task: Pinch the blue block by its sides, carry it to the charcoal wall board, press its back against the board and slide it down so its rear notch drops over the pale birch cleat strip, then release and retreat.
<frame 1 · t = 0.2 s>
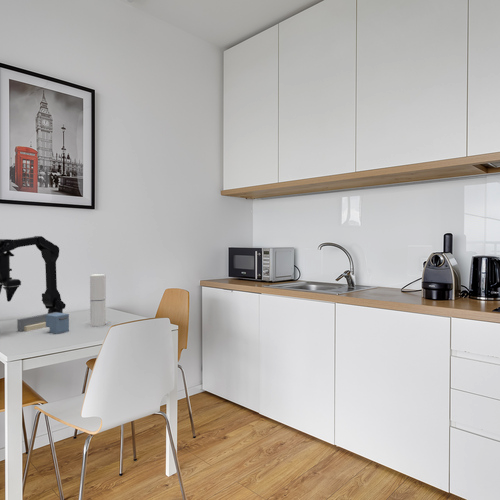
hand: (2, 300, 179), 14 cm above the table, fingers open, 9 cm apart
cylindrical container: (97, 325, 196), on the table
wall board: (38, 327, 189), on the table
blue block: (58, 331, 181), on the table
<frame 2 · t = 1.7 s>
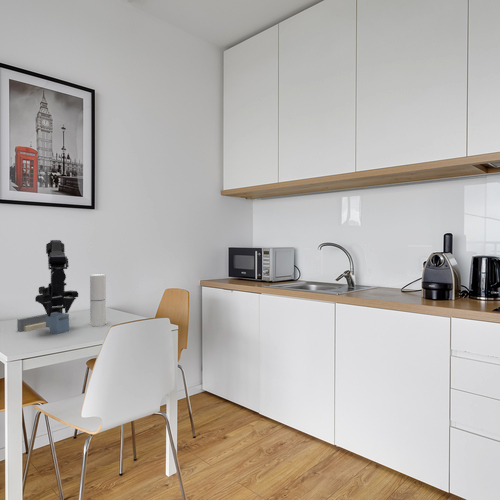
hand: (57, 314, 181), 8 cm above the table, fingers open, 9 cm apart
nothing on the table moved.
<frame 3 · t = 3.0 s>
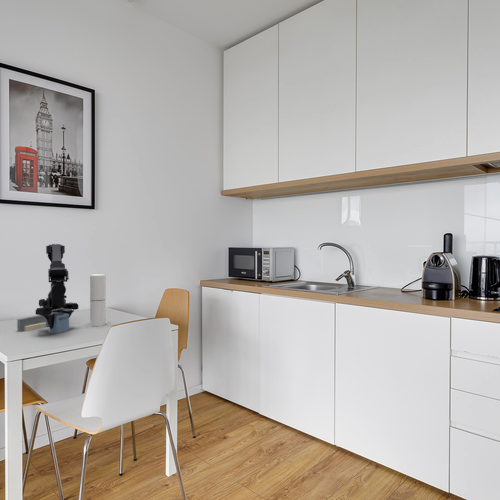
hand: (57, 327, 181), 2 cm above the table, fingers closed on blue block, 6 cm apart
blue block: (58, 331, 181), on the table, touching gripper
everything else where it was.
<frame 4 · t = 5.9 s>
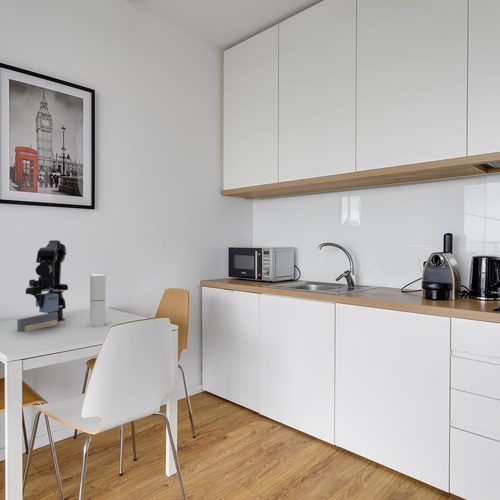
hand: (47, 306, 186), 10 cm above the table, fingers closed on blue block, 6 cm apart
blue block: (47, 311, 187), point 8 cm above the table, touching gripper
everything else where it was.
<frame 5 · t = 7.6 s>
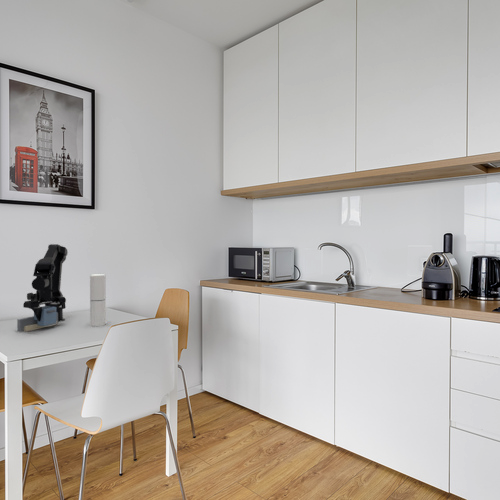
hand: (45, 319, 187), 4 cm above the table, fingers closed on blue block, 6 cm apart
blue block: (45, 324, 187), point 2 cm above the table, touching gripper, wall board
everything else where it was.
when the fingers open (3 cm above the table, at t = 8.8 s): blue block stays where it is, on the table.
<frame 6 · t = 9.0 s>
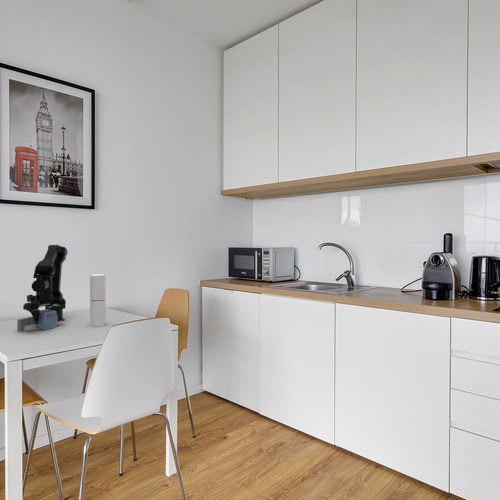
hand: (45, 321, 187), 3 cm above the table, fingers open, 9 cm apart
blue block: (45, 327, 187), on the table
everything else where it was.
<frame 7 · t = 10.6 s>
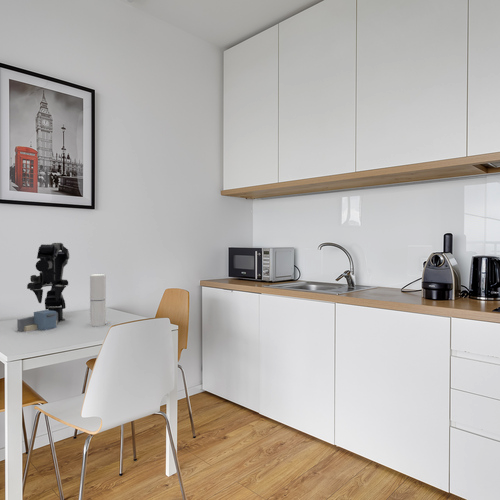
hand: (48, 301, 192), 12 cm above the table, fingers open, 9 cm apart
nothing on the table moved.
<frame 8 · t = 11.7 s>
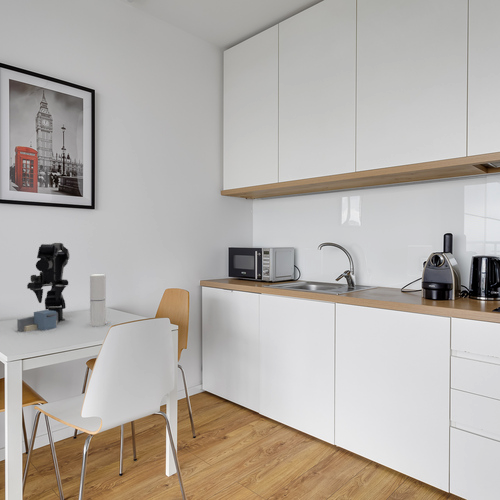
hand: (48, 301, 192), 12 cm above the table, fingers open, 9 cm apart
nothing on the table moved.
at the end: blue block 0.4 cm from the target spot, on the table; blue block tilted 0°; the gripper is holding nothing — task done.
